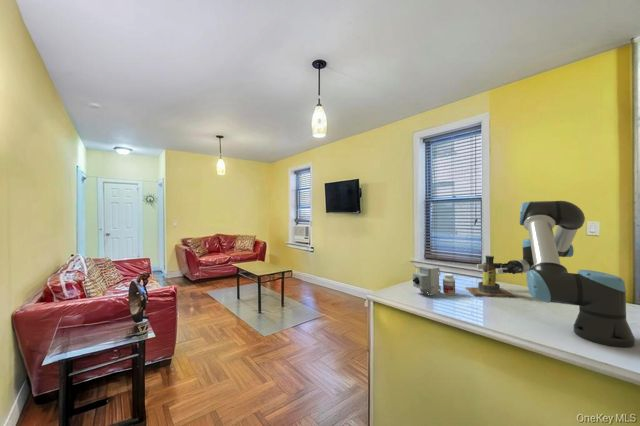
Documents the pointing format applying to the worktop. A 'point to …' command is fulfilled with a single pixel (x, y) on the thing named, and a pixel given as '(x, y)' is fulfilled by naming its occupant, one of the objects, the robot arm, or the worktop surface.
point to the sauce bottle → (489, 272)
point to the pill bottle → (449, 284)
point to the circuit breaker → (427, 279)
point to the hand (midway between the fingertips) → (486, 268)
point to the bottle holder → (489, 291)
